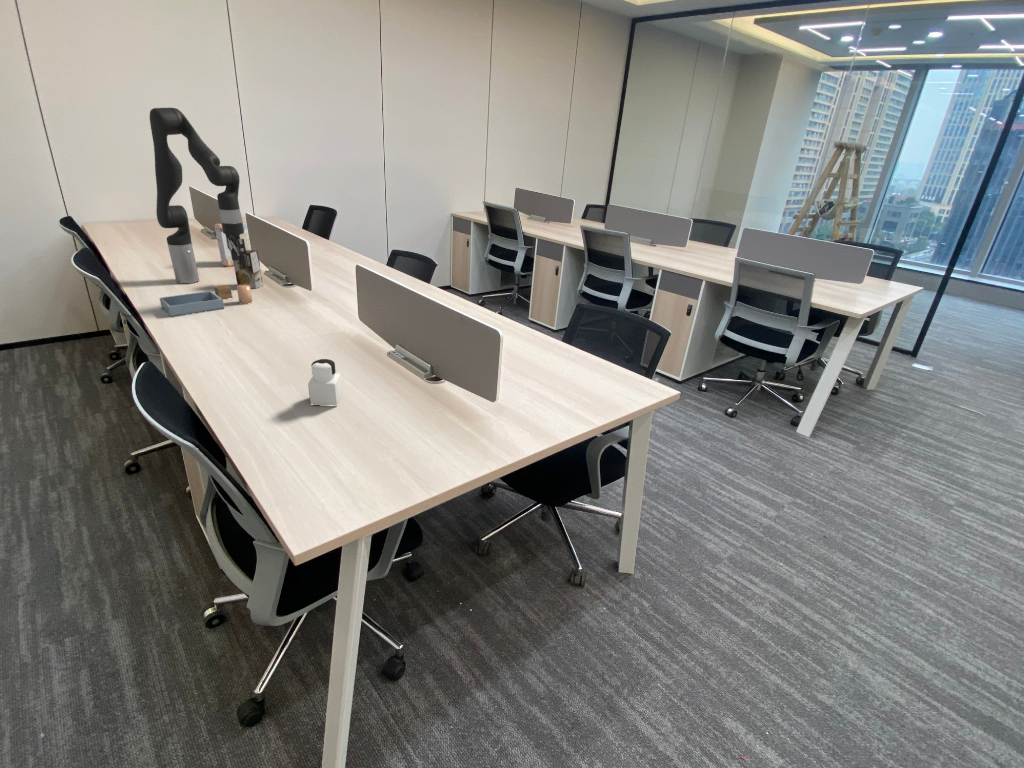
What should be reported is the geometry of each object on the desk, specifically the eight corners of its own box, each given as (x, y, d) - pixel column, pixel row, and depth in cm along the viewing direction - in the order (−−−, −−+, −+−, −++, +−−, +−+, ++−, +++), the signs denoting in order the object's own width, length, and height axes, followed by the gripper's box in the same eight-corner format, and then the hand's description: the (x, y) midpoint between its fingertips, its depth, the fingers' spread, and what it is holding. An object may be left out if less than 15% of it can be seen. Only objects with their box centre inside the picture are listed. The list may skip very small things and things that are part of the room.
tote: (161, 307, 202) (159, 297, 200) (213, 300, 214) (211, 290, 212) (171, 317, 193) (168, 307, 191) (224, 308, 205) (222, 299, 203)
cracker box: (247, 261, 274) (241, 221, 265) (253, 263, 271) (247, 222, 262) (221, 265, 264) (213, 223, 254) (227, 267, 260) (219, 225, 251)
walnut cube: (216, 297, 217) (213, 285, 215) (228, 295, 221) (226, 284, 218) (219, 300, 214) (217, 288, 212) (232, 298, 218) (230, 287, 215)
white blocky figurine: (317, 394, 147) (312, 356, 141) (342, 394, 147) (339, 356, 142) (310, 406, 140) (305, 366, 135) (337, 406, 141) (333, 367, 136)
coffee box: (263, 285, 237) (258, 250, 230) (256, 288, 231) (250, 253, 224) (245, 283, 238) (239, 248, 231) (236, 287, 232) (230, 251, 225)
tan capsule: (237, 302, 214) (234, 285, 211) (250, 300, 217) (247, 284, 214) (241, 305, 211) (239, 288, 208) (254, 303, 214) (251, 286, 211)
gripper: (215, 219, 201) (223, 260, 208) (227, 224, 192) (235, 267, 199) (235, 218, 206) (242, 258, 213) (248, 223, 197) (255, 265, 204)
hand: (239, 262), depth 206 cm, fingers open, 8 cm apart
